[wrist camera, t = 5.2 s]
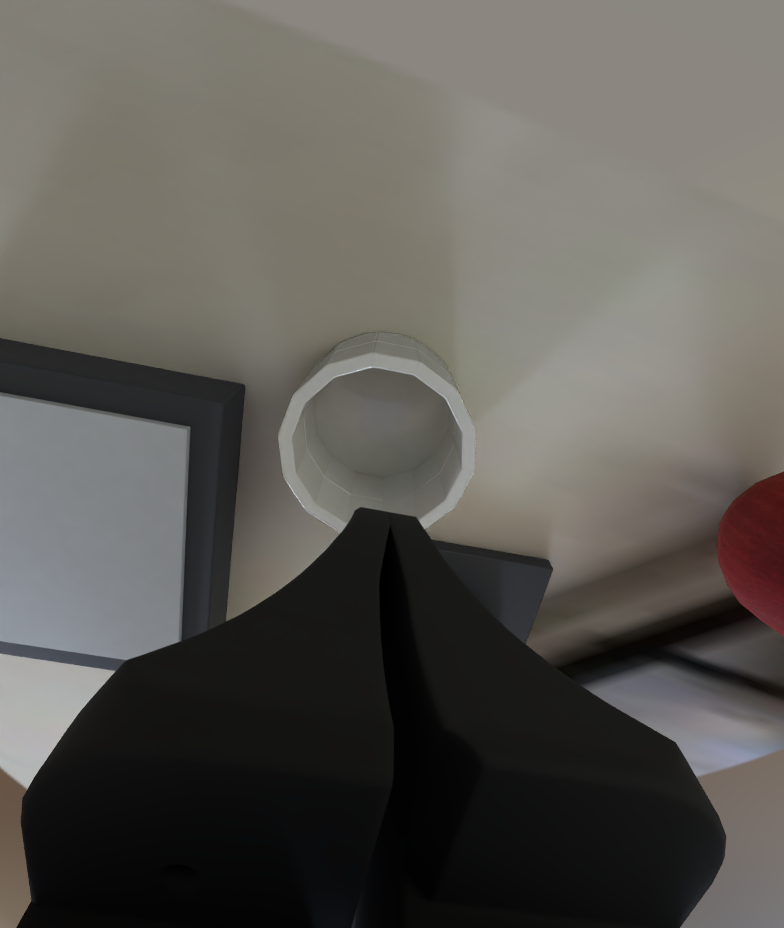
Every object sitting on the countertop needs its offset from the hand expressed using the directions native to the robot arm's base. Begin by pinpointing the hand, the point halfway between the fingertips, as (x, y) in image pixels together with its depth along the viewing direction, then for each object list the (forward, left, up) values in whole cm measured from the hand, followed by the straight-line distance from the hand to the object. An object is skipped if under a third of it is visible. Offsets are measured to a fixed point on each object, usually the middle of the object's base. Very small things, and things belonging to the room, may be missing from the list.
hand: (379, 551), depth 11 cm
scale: (-5, +10, -9) cm, 14 cm away
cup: (+1, 0, -9) cm, 9 cm away
